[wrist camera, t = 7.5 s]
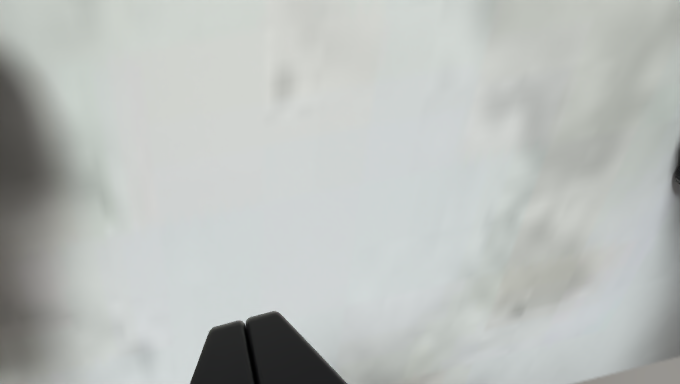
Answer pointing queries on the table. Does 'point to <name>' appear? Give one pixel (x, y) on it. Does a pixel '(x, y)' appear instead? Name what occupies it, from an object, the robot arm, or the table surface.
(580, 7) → the table surface
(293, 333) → the robot arm
